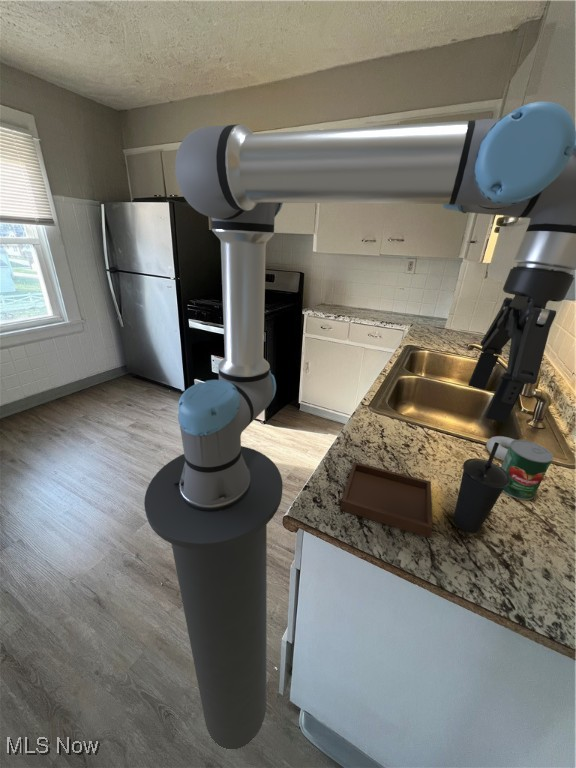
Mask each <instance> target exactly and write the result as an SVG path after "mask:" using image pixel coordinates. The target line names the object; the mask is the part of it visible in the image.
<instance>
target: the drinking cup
mask: <svg viewBox="0 0 576 768" xmlns="http://www.w3.org/2000/svg"><path fill="white" fill-rule="evenodd" d="M498 446H499V443H497V442H495V443H494V446H493V449H492V451H491V453H489V457H488V459H487V460H486V459H483V458H473V457H472V458H467V459H466V460H465V461H464V462H463V465H462V469H463V471H462V476H461V480H460V485H459V490H458V493H457V499H456V505H455V509H454V513H453V522H454V524H455V525H456V526H457V528H458V529H460V530H461V531H463V532H466V533H468V534H477V533H478V532H480V530H481V528H482V526H483V525H484V523H485V522H486V519H487V518H488V516H489V514H490V513H491V511H492V510H493V508H494V506H495V505H496V503H497V501H498V499H499V498H500V496H501V495H502V493H503V489H504V488H505V487H506V486H507V485H508V484H509V482H510V477H509V475H508V474H507V472H506V471H505V470H504V469H502V468H501V465H498V464H496V463H495V462H493V461H494V458H495V453H496V451H497V448H498Z"/></svg>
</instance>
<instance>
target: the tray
mask: <svg viewBox="0 0 576 768" xmlns="http://www.w3.org/2000/svg"><path fill="white" fill-rule="evenodd" d="M432 503H433V502H432V481H430V480H427V479H423V478H419V477H414V476H410V475H408V474H403V473H399V472H395V471H392V470H388V469H384V468H379V467H376V466H373V465H368V464H365V463H360V462H356V461H353V463H352V466H351V469H350V472H349V476H348V478H347V482H346V486H345V489H344V493H343V495H342V499H341V504H340V511H341V512H345V513H348V514H351V515H355V516H357V517H361V518H365V519H368V520H371V521H374V522H377V523H380V524H382V525H383V524H384V525H386V526H390V527H393V528H396V529H400V530H402V531H406V532H409V533H413V534H415V535H419V536H422V537H425V538H428V539H430V537H431V535H432V532H433V531H432V530H433V506H432V505H433V504H432Z"/></svg>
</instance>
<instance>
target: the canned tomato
mask: <svg viewBox="0 0 576 768" xmlns="http://www.w3.org/2000/svg"><path fill="white" fill-rule="evenodd" d="M553 460H554V455H553V453H552V452H551V451H550V450H549V449H548V448H546V447H544V446H542V445H540V444H538V443H536V442H533V441H530V440H526V439H514V441H512V442H511V443H510V446H509V448H508V451H507V453H506V455H505V458H504V460H503V461H502V463H501V465H500V467H501V468H502V469H504V470H505V471H506V472H507V474H508V475H509V477H510V482H509V484H508V485H507V486H506V487H505V488H504V489H503V491H502V493H504V494H505V495H507V496H509V497H511V498H514V499H517V500H521V501H531V500H532V499H534V498H535V496H536V493H537V491H538V489H539V488H540V485H541V483H542V481H543V479H544V478H545V475H546V473H547V472H548V469H549V467H550V465H551V463H552V461H553Z"/></svg>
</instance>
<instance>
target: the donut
mask: <svg viewBox="0 0 576 768" xmlns="http://www.w3.org/2000/svg"><path fill="white" fill-rule="evenodd" d="M514 440H515V439H514V438H511V437H508V436H502V435H496V436H491V437H490V438H489V439H488V440H487V441H486V445H485V446H486V449H487V451H488V452H489V454H491V451H492V449H493V446H494V443H495V442H497V443H499V446H498V448H497V451H496V453H495V456H494V458H496V459H497V460H499V461H502V462H503V460H504V458H505V455H506V453H507V451H508V448H509V446H510V443H511V442H512V441H514Z"/></svg>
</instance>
